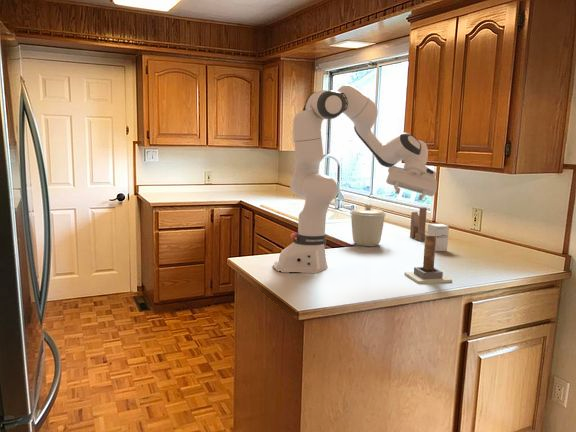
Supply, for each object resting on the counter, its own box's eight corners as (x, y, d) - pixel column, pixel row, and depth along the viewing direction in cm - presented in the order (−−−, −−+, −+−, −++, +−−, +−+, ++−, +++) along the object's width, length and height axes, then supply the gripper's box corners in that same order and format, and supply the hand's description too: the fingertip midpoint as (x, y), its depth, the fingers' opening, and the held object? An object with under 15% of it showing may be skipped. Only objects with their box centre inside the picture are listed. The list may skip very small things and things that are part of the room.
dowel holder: (417, 283, 183) (418, 274, 182) (404, 274, 194) (404, 266, 194) (452, 282, 185) (452, 273, 185) (436, 273, 197) (437, 265, 196)
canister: (362, 239, 261) (364, 200, 258) (391, 245, 248) (393, 204, 245) (341, 243, 248) (343, 203, 245) (370, 250, 236) (372, 207, 232)
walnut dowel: (425, 277, 187) (428, 236, 185) (420, 274, 191) (423, 234, 189) (435, 277, 188) (438, 236, 186) (430, 274, 192) (432, 234, 190)
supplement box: (434, 252, 235) (436, 226, 233) (425, 248, 242) (427, 223, 240) (447, 251, 237) (449, 225, 235) (438, 247, 244) (440, 223, 242)
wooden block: (415, 237, 270) (417, 205, 267) (426, 241, 260) (428, 207, 257) (409, 237, 269) (411, 205, 266) (420, 241, 259) (422, 208, 256)
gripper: (391, 159, 202) (385, 183, 193) (440, 173, 199) (436, 198, 191) (387, 170, 207) (381, 193, 198) (435, 183, 204) (430, 208, 196)
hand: (408, 196), depth 195 cm, fingers open, 8 cm apart
